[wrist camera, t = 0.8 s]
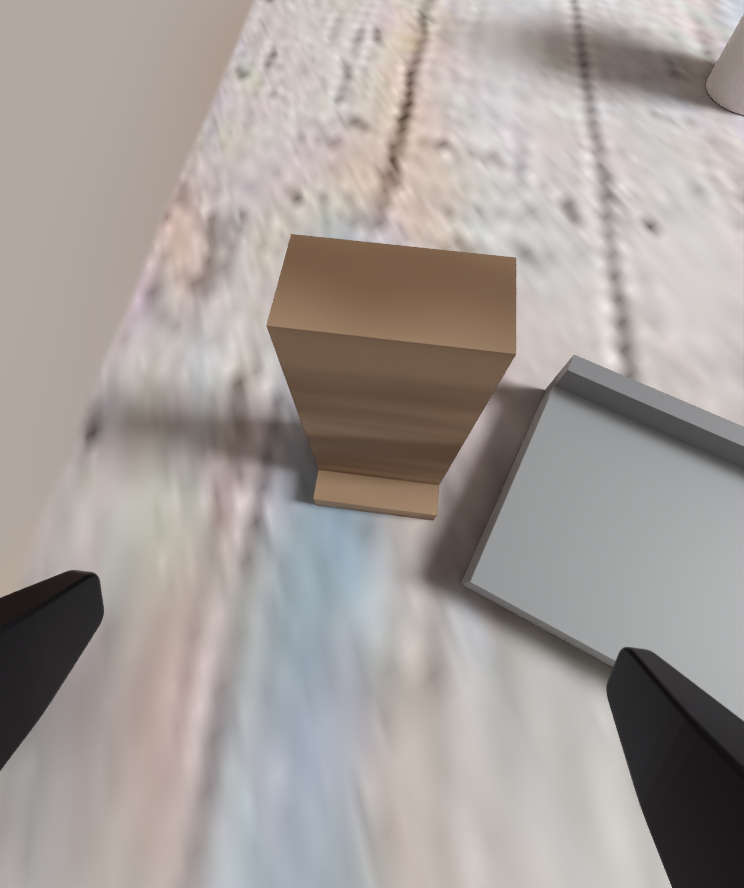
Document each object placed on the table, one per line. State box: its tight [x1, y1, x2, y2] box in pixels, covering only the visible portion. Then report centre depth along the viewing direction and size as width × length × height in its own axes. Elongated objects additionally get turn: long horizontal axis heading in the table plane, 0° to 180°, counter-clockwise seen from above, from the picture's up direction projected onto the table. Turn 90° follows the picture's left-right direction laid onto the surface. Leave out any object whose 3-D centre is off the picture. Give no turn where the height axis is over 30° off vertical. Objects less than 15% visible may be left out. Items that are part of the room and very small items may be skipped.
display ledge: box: [461, 355, 744, 721], centre depth 18 cm, size 12×18×4 cm, turn 61°
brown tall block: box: [266, 234, 516, 520], centre depth 16 cm, size 6×6×12 cm
